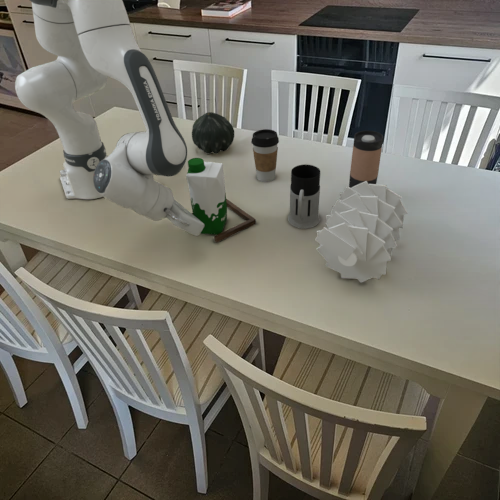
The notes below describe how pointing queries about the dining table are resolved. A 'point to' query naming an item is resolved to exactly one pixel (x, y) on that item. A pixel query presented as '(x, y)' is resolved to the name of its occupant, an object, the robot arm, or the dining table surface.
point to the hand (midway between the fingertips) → (195, 220)
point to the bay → (237, 228)
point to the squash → (212, 133)
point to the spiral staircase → (362, 231)
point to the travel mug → (365, 157)
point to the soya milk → (207, 194)
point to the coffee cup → (265, 153)
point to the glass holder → (304, 196)
